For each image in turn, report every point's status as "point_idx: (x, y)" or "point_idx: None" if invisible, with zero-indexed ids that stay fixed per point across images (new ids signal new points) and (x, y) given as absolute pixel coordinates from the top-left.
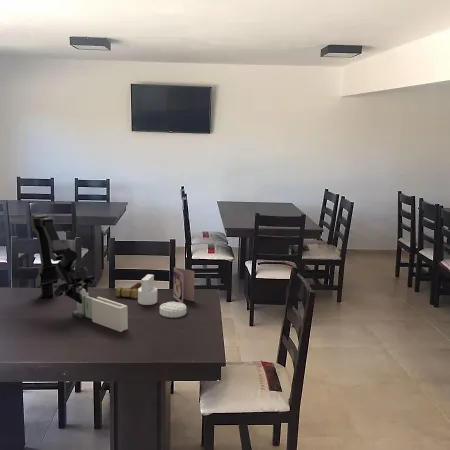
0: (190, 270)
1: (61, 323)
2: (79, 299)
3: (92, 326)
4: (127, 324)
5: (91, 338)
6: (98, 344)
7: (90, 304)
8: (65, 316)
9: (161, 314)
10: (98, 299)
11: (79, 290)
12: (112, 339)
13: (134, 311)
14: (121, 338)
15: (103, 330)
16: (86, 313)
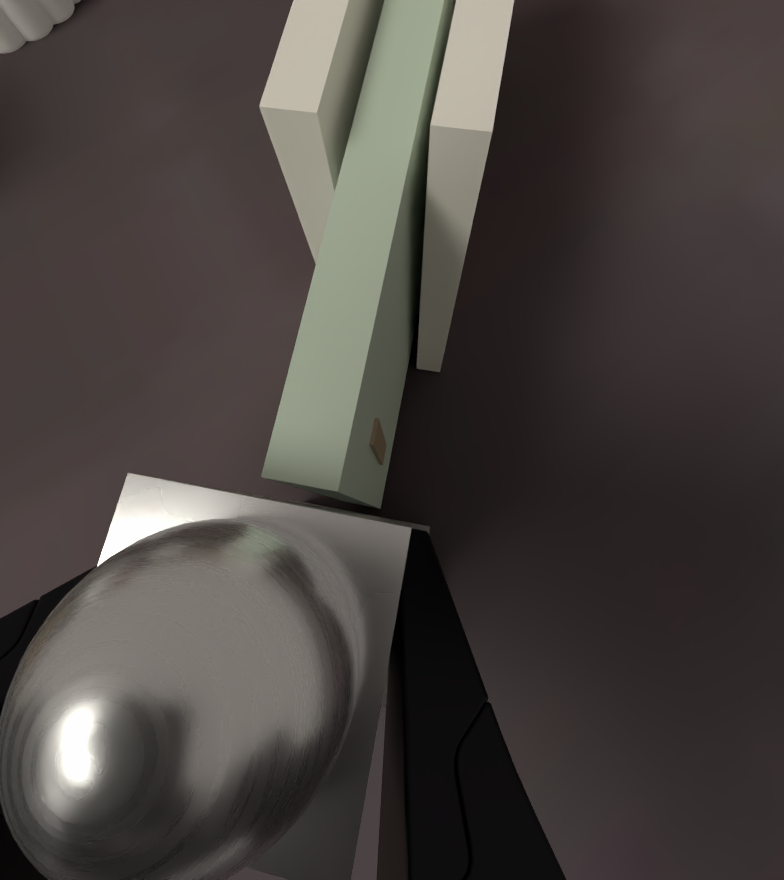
0: None
1: (658, 629)
2: (443, 586)
3: (530, 300)
4: None
5: (725, 159)
6: (768, 60)
7: (388, 352)
8: None
9: (68, 3)
10: (335, 122)
11: (256, 849)
12: (636, 36)
13: (65, 204)
14: (583, 2)
15: (544, 176)
16: (382, 482)
